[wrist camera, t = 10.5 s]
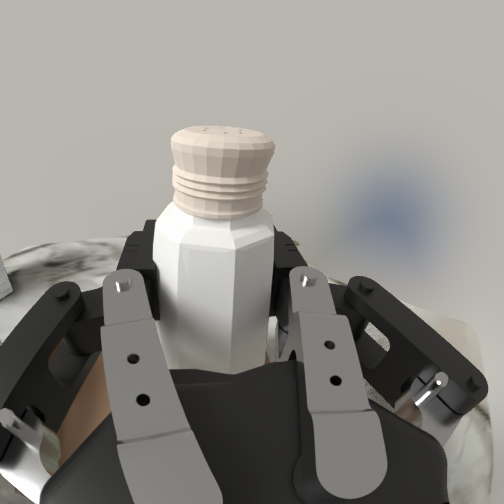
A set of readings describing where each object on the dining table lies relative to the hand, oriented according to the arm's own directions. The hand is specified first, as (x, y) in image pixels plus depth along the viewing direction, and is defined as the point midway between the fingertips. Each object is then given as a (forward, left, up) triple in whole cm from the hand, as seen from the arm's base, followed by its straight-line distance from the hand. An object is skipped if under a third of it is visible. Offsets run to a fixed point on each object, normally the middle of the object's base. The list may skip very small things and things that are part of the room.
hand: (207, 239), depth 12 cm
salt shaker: (+1, -3, -6) cm, 7 cm away
